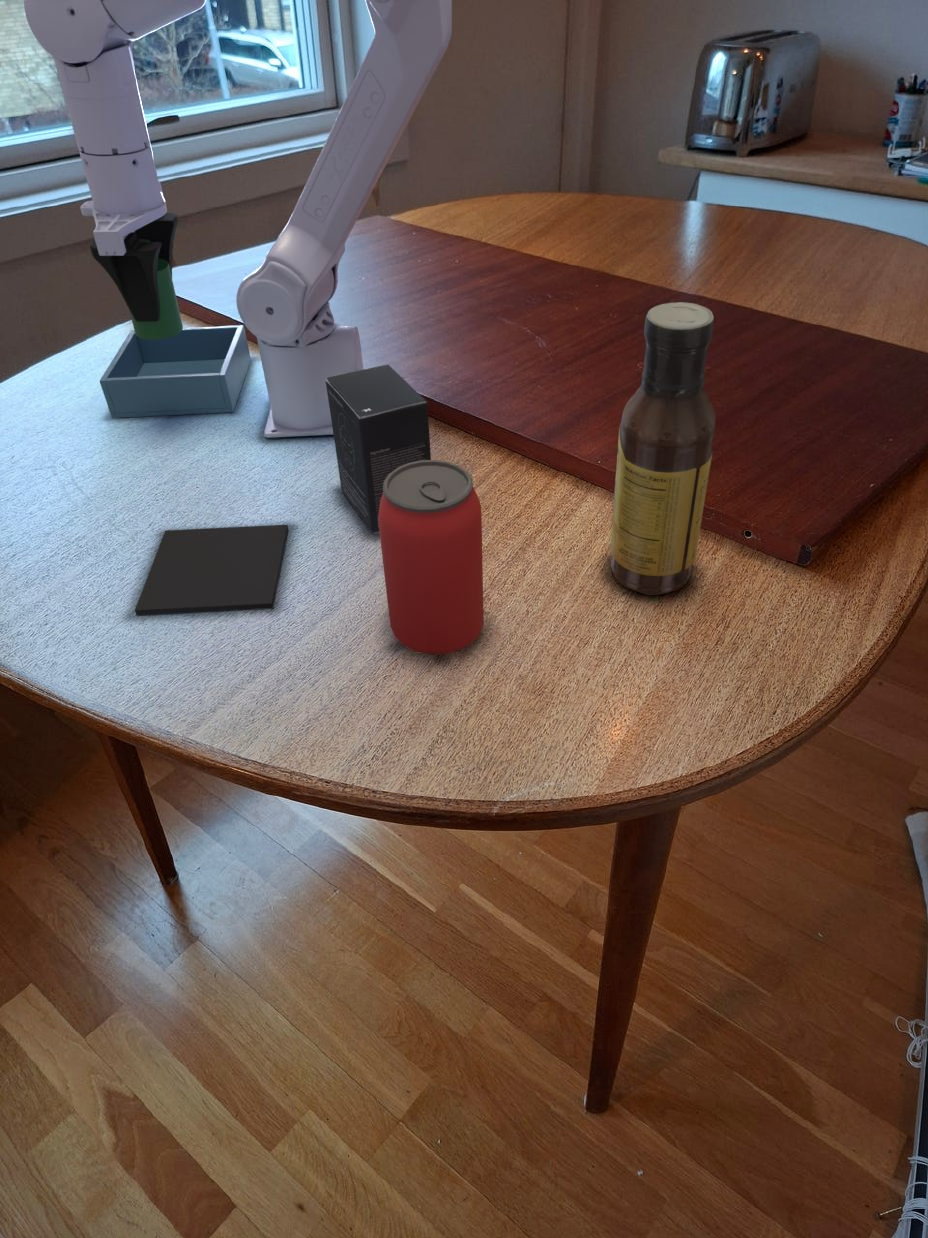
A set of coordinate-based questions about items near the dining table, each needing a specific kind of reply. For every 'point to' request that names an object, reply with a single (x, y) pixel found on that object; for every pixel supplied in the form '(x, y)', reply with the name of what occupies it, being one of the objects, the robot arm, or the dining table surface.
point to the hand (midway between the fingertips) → (154, 309)
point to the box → (375, 433)
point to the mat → (214, 570)
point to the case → (178, 373)
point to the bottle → (162, 308)
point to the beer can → (432, 556)
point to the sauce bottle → (664, 454)
